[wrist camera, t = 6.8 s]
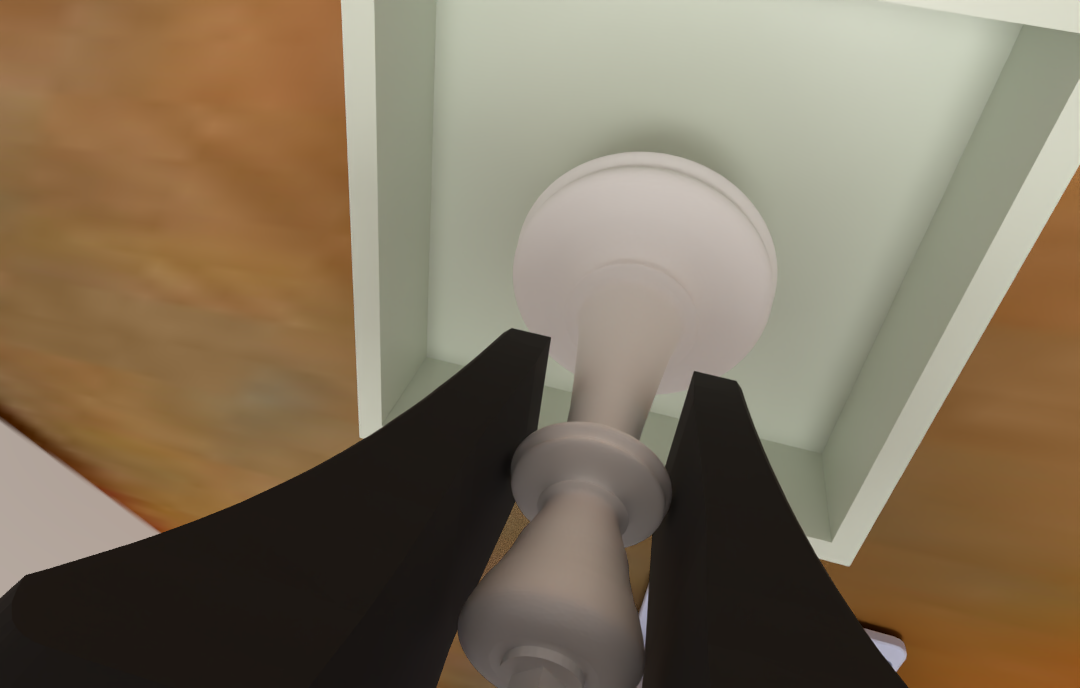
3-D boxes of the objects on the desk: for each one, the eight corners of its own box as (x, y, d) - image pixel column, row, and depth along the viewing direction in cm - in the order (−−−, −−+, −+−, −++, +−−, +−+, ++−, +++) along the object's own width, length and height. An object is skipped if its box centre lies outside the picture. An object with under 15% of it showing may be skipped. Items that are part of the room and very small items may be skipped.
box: (835, 460, 19) (849, 566, 17) (413, 357, 21) (359, 437, 18) (1078, -36, 13) (1175, -3, 10) (421, -136, 14) (335, -134, 11)
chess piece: (467, 242, 14) (120, 755, 7) (675, 91, 12) (517, 642, 4) (616, 410, 16) (481, 986, 8) (829, 310, 13) (935, 1013, 6)
